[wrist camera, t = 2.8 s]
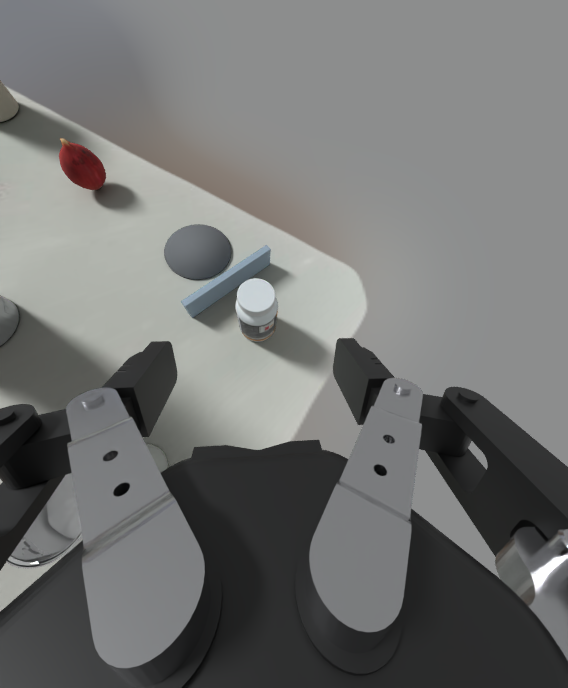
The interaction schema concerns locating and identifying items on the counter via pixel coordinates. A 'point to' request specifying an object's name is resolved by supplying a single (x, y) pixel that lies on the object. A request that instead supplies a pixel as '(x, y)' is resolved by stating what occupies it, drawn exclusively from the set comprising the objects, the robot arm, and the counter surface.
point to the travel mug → (7, 104)
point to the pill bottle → (256, 309)
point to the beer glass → (59, 524)
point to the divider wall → (227, 282)
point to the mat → (197, 252)
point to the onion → (81, 165)
